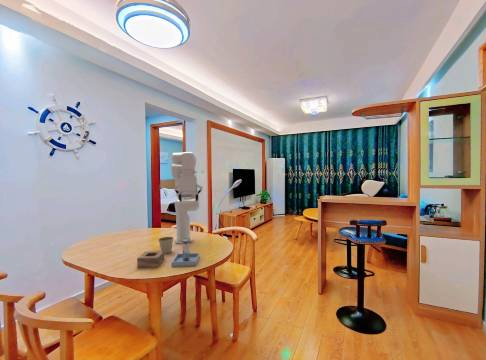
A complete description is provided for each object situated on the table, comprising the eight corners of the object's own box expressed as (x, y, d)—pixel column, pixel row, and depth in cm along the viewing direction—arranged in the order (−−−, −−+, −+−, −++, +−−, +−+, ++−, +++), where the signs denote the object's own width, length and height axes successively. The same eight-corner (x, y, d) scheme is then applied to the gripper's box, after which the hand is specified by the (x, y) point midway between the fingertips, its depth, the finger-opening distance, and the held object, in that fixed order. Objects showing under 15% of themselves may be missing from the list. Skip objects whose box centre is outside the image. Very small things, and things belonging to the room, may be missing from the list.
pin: (182, 259, 132) (182, 238, 131) (191, 258, 132) (191, 238, 131) (180, 262, 127) (180, 241, 126) (189, 262, 127) (189, 240, 126)
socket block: (145, 259, 132) (145, 251, 132) (164, 259, 133) (164, 250, 133) (137, 267, 121) (137, 258, 121) (158, 267, 122) (158, 257, 122)
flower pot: (157, 255, 140) (157, 241, 139) (159, 250, 149) (158, 237, 148) (173, 253, 142) (173, 240, 142) (174, 249, 151) (173, 236, 151)
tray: (177, 257, 135) (177, 253, 135) (199, 257, 136) (199, 253, 136) (171, 266, 122) (171, 262, 122) (196, 265, 123) (195, 261, 123)
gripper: (203, 172, 142) (203, 200, 142) (175, 173, 141) (175, 200, 142) (201, 172, 134) (202, 201, 135) (171, 173, 134) (172, 202, 134)
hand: (188, 201), depth 138 cm, fingers open, 9 cm apart
